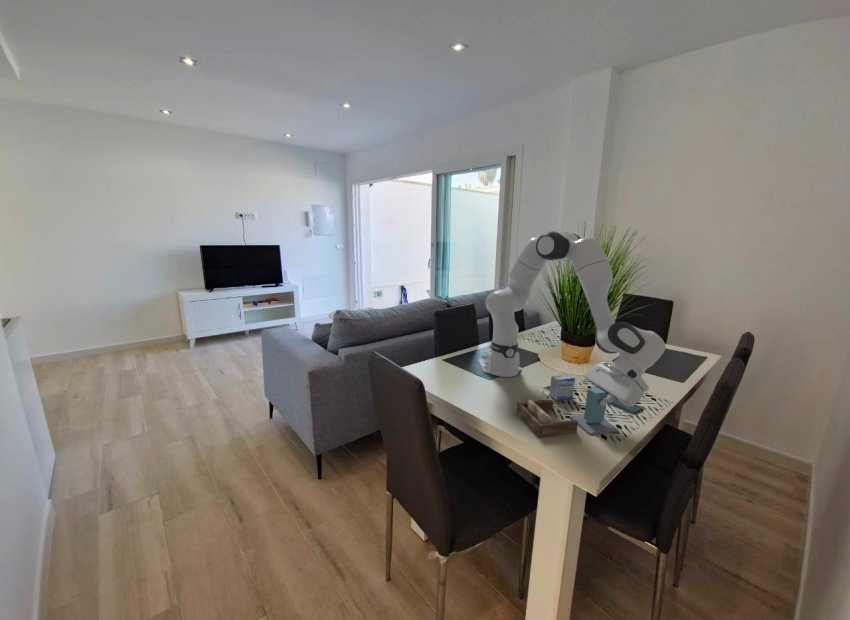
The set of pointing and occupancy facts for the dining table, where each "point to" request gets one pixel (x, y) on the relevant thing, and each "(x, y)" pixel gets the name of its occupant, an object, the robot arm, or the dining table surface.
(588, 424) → the grey mat
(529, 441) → the dining table surface
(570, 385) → the medicine box
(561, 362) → the dining table surface
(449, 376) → the dining table surface
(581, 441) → the dining table surface
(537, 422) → the tray
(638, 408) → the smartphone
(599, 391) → the teal rectangular block
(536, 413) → the offcut stack
